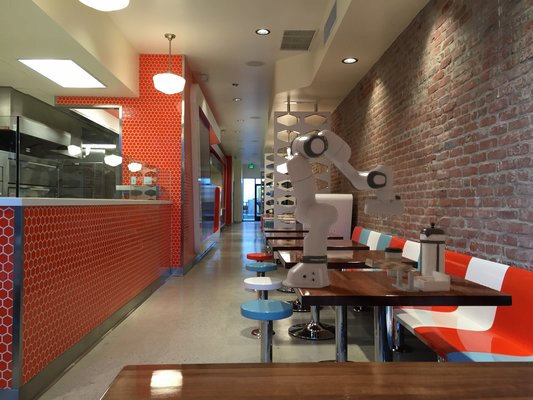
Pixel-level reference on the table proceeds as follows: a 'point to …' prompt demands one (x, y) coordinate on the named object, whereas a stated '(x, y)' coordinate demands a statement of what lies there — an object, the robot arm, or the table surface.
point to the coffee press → (432, 250)
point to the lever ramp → (389, 265)
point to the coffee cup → (393, 258)
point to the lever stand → (404, 286)
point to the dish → (433, 282)
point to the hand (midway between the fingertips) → (383, 223)
